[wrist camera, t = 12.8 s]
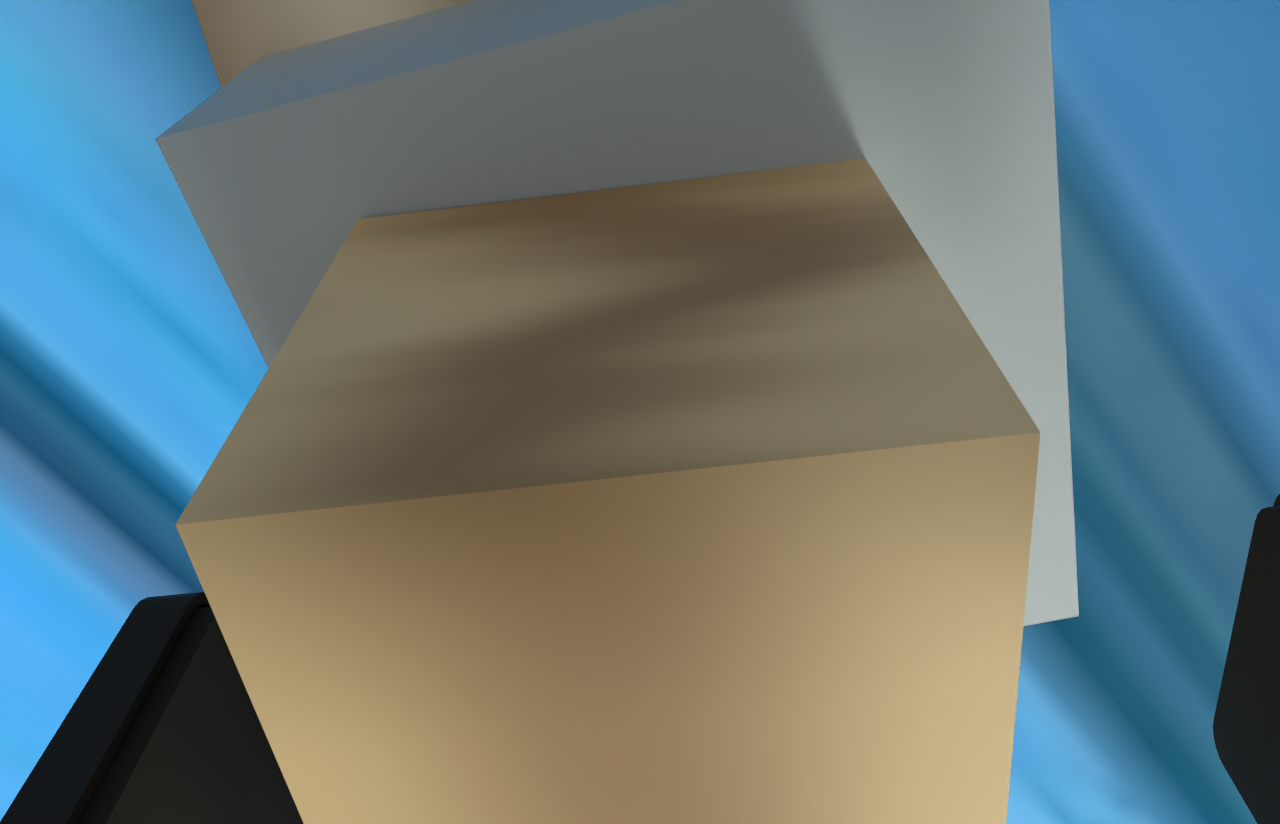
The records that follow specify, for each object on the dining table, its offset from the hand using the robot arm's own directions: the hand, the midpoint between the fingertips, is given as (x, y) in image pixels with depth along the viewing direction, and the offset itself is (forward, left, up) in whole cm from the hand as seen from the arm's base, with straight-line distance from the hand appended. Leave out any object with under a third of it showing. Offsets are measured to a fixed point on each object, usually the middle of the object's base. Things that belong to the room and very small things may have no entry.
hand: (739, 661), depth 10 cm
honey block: (+1, 0, -5) cm, 5 cm away
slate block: (0, 0, -9) cm, 9 cm away
